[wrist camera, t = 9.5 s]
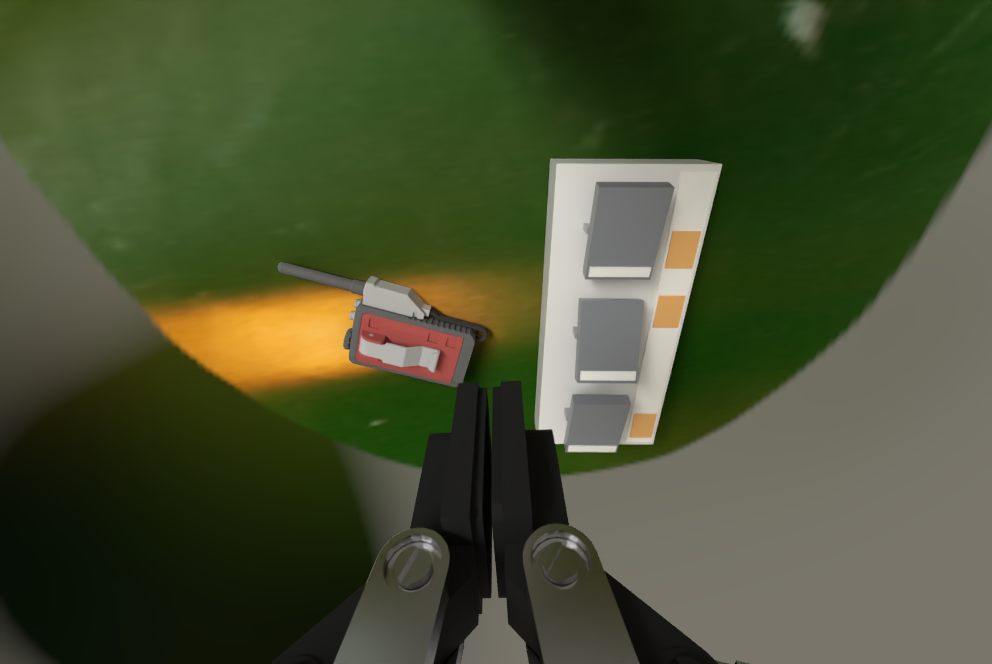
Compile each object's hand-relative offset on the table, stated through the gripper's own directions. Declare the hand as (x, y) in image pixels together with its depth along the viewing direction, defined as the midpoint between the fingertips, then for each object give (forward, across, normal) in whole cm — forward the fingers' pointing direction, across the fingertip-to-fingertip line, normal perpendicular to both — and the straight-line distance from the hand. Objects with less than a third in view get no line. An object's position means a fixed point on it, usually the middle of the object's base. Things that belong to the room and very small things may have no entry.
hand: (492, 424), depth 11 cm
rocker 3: (+20, -8, +19) cm, 29 cm away
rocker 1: (+21, -9, +1) cm, 23 cm away
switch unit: (+26, -10, +10) cm, 30 cm away
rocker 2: (+20, -9, +10) cm, 24 cm away
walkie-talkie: (+27, +11, +11) cm, 31 cm away
